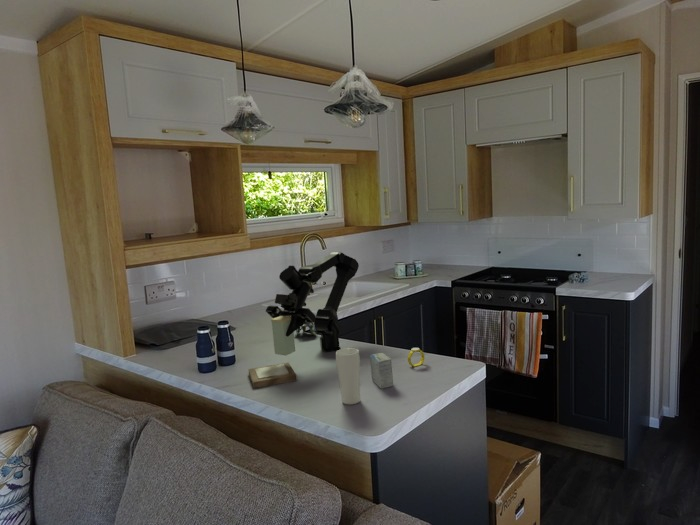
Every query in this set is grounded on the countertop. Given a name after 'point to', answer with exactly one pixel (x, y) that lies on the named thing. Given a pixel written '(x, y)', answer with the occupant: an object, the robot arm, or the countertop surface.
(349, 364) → the drinking glass
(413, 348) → the watch
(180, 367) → the countertop surface
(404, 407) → the countertop surface
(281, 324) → the tea tin
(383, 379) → the medicine box
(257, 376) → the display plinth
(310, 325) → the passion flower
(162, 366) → the countertop surface
